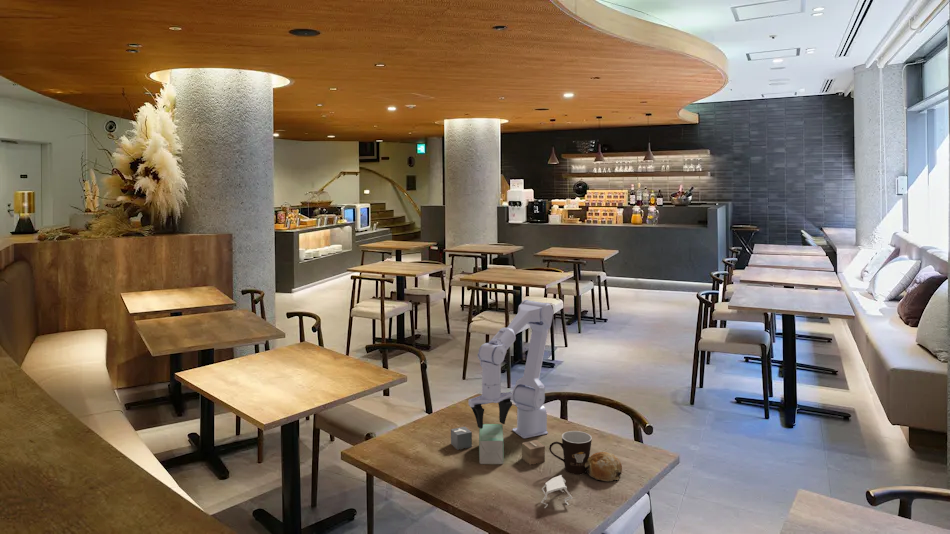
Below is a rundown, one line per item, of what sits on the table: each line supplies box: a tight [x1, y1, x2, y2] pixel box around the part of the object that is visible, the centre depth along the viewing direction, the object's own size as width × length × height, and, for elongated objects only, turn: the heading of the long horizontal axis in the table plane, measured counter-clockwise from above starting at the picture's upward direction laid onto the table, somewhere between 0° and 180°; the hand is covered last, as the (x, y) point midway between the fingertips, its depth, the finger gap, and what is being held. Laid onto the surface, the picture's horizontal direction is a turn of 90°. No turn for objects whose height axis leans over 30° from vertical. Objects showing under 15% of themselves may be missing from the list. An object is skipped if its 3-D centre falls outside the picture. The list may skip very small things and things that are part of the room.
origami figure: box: [540, 474, 574, 509], centre depth 166 cm, size 12×8×5 cm
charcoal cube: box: [450, 426, 473, 451], centre depth 199 cm, size 5×5×5 cm
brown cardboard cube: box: [521, 439, 546, 466], centre depth 188 cm, size 5×5×5 cm
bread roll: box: [585, 451, 623, 482], centre depth 179 cm, size 10×10×8 cm
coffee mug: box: [548, 430, 593, 476], centre depth 182 cm, size 12×9×10 cm
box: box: [478, 423, 505, 465], centre depth 192 cm, size 7×14×8 cm, turn 179°
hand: (491, 425), depth 192 cm, fingers open, 7 cm apart
